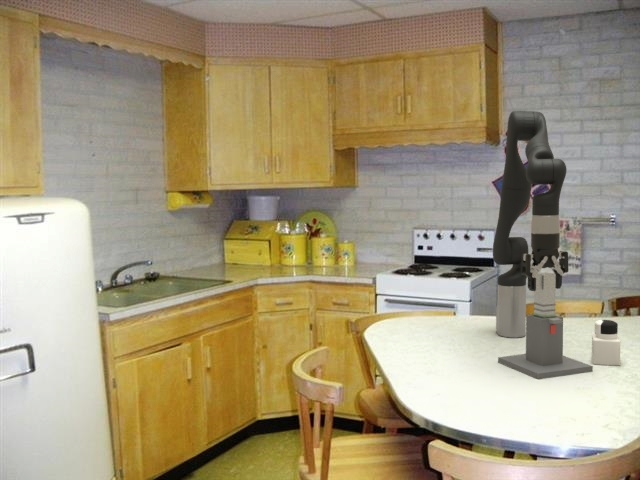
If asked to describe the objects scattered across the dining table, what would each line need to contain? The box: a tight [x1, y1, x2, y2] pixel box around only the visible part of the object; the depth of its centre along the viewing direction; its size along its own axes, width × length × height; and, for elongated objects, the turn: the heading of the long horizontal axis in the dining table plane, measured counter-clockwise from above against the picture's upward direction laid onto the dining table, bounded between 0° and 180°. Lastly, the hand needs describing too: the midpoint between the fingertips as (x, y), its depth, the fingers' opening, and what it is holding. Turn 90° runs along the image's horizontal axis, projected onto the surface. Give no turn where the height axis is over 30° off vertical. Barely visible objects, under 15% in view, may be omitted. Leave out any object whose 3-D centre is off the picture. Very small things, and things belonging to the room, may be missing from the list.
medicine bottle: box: [591, 319, 621, 367], centre depth 195 cm, size 7×7×12 cm
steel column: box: [533, 272, 557, 319], centre depth 190 cm, size 4×4×18 cm
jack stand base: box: [497, 313, 593, 380], centre depth 191 cm, size 18×18×14 cm
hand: (544, 289), depth 189 cm, fingers open, 8 cm apart
